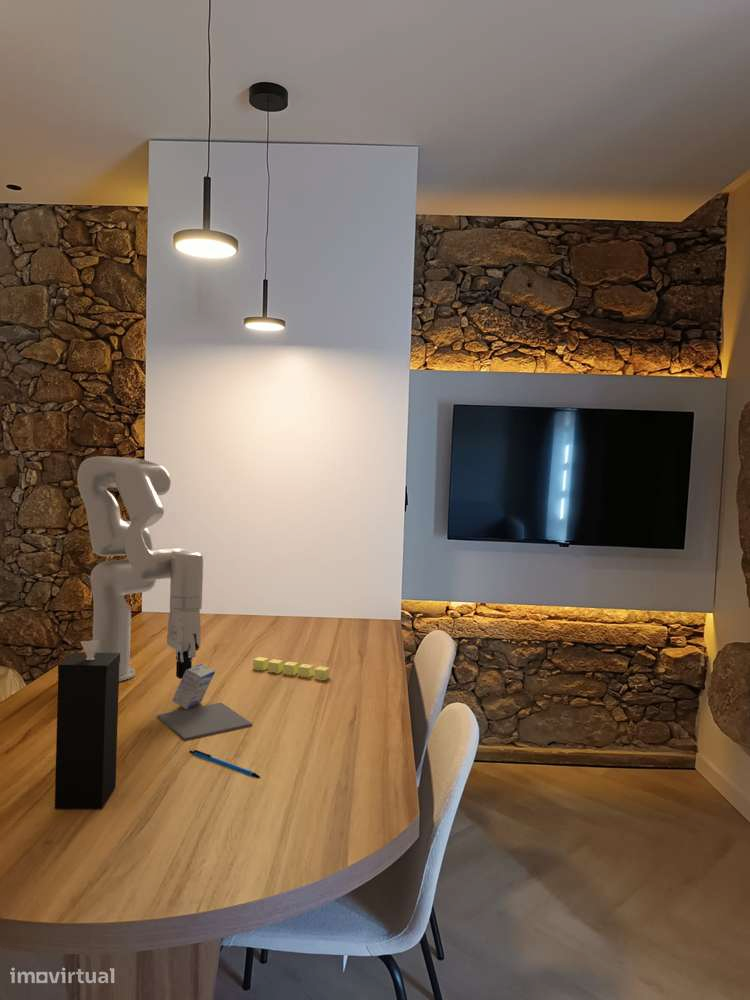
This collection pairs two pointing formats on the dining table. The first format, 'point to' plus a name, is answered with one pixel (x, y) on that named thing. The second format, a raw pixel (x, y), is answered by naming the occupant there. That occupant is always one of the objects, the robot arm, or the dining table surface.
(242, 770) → the pen
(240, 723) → the mat
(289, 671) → the yellow cube line
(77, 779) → the tissue box
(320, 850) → the dining table surface
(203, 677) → the medicine box
